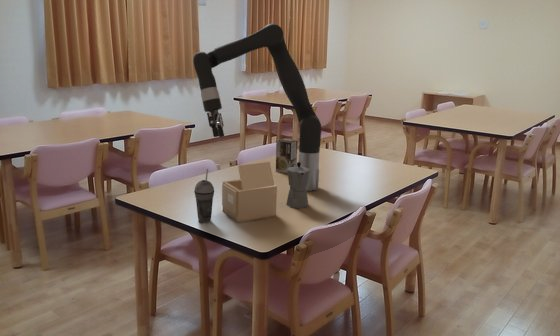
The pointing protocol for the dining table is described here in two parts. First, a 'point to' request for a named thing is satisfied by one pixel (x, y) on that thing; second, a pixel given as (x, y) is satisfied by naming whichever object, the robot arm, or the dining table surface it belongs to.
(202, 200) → the beverage cup
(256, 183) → the flap
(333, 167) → the dining table surface
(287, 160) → the coffee box
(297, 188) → the coffeepot
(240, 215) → the carton
